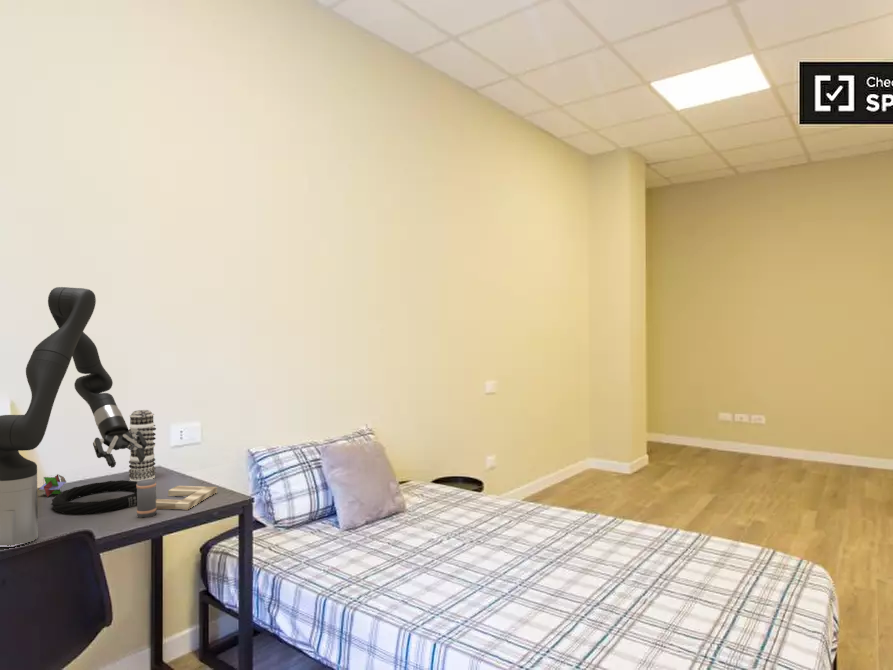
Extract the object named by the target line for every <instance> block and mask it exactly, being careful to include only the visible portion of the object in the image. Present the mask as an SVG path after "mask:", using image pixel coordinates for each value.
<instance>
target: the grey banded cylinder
mask: <svg viewBox="0 0 893 670" xmlns="http://www.w3.org/2000/svg"><path fill="white" fill-rule="evenodd" d="M136 486H137V505H136V517H137V516H138V517H137V518H139V517H146V518H150V516H151V517H154V516H156V515H157V509H156V499H157V480H156V479H155V478H154V479H147V480H141V481H138V482H137V485H136ZM155 514H156V515H155ZM153 515H154V516H153Z"/></svg>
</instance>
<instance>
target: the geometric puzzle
mask: <svg viewBox="0 0 893 670" xmlns="http://www.w3.org/2000/svg"><path fill="white" fill-rule="evenodd" d="M43 480H44V483H43V485H41V486H39V488H37V491H38V490H39V491H40V492H43V491H44V493H45V495H46V498H49V497H50V496H51V495H58V494H60V493H62V491H61V489H62V487H63V486H64V485H66V484H67V481H66V478H65V477H64V476H62V475H60V474H58V473H57V474H56V475H54V476H48V475H47V476H43ZM41 483H42V482H41ZM41 483H40V484H41Z"/></svg>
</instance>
